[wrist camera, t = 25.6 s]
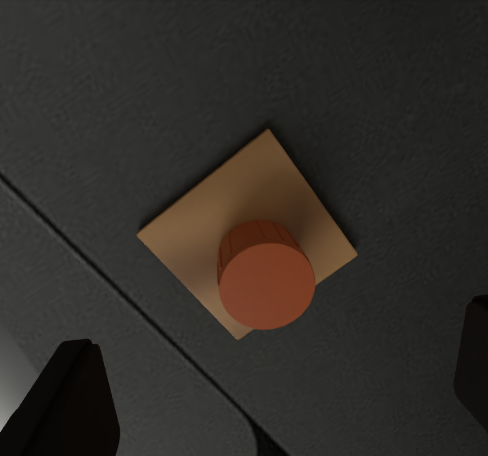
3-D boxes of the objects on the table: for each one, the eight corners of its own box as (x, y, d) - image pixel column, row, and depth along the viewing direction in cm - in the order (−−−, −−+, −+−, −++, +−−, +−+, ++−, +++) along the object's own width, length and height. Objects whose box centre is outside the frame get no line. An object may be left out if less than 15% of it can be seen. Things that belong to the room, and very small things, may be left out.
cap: (249, 307, 18) (256, 346, 15) (200, 251, 17) (198, 281, 14) (312, 263, 17) (334, 294, 14) (268, 202, 16) (281, 222, 13)
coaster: (137, 231, 17) (135, 234, 16) (267, 128, 16) (268, 128, 15) (237, 335, 19) (237, 341, 19) (354, 251, 18) (358, 255, 18)
